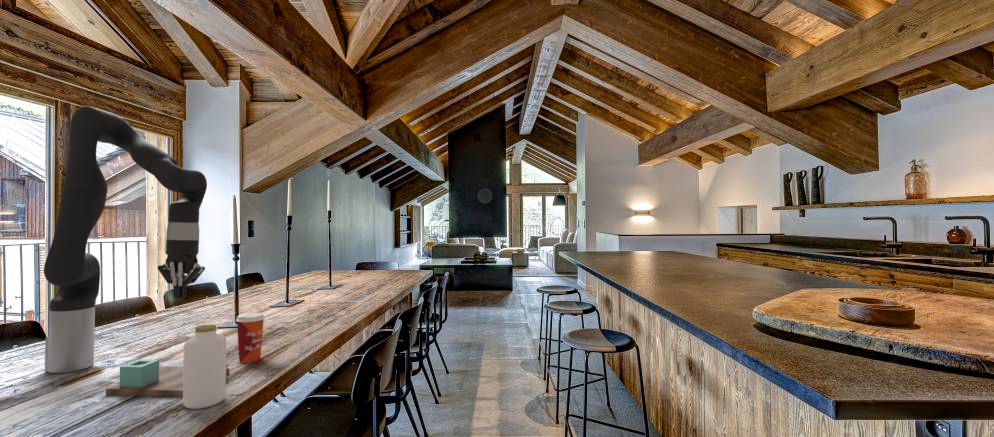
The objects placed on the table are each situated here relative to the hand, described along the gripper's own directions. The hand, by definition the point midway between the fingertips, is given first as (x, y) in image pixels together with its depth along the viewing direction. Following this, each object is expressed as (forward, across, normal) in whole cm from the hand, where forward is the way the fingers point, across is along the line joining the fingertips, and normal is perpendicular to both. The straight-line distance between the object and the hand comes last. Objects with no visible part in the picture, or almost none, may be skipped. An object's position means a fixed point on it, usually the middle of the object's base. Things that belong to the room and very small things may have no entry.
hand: (180, 298), depth 119 cm
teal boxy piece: (+19, +1, -13) cm, 23 cm away
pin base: (+20, +6, -9) cm, 23 cm away
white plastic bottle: (+20, +23, -19) cm, 36 cm away
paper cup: (+20, +15, +11) cm, 27 cm away
